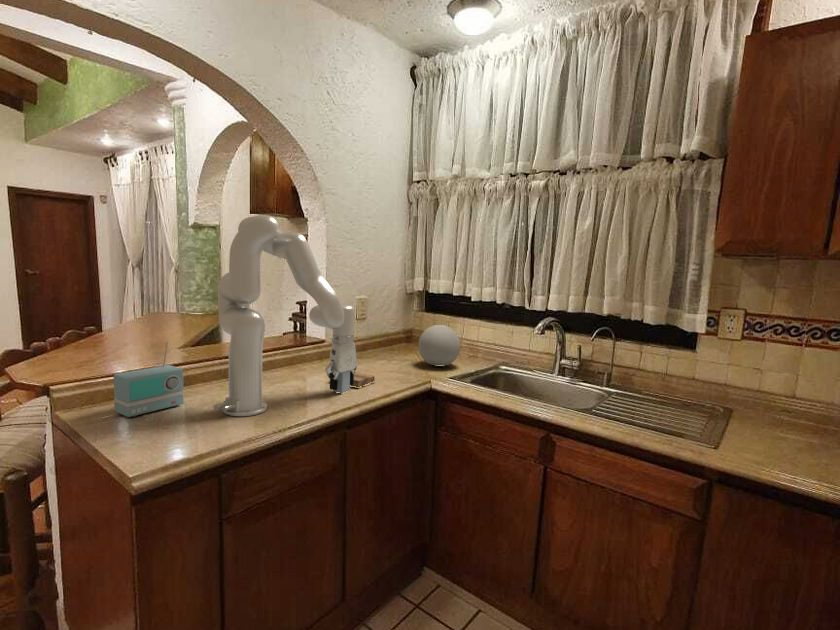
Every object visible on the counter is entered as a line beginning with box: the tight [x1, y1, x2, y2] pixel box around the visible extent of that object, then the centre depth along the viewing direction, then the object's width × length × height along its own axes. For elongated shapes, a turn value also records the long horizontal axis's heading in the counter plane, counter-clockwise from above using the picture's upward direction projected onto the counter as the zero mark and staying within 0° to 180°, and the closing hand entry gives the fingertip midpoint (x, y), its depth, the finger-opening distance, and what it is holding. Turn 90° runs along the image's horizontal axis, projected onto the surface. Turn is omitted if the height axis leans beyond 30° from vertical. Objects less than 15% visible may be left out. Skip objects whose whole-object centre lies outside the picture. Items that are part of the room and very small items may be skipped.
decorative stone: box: [418, 324, 461, 366], centre depth 202 cm, size 20×20×20 cm
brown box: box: [351, 371, 375, 387], centre depth 167 cm, size 10×14×3 cm
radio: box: [113, 340, 184, 418], centre depth 126 cm, size 16×9×20 cm, turn 149°
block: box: [333, 371, 351, 393], centre depth 154 cm, size 4×4×8 cm
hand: (341, 386), depth 154 cm, fingers open, 8 cm apart
